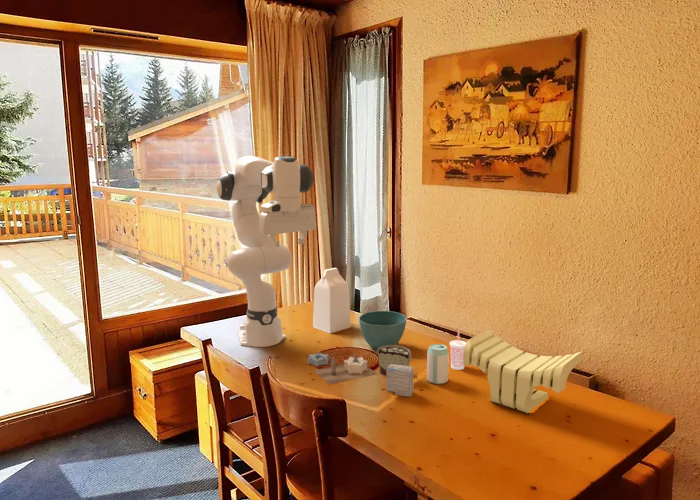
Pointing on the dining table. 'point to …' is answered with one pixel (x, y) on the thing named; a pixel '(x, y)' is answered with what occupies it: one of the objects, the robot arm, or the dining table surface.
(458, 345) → the beverage cup
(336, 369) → the gear board
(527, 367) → the slatted curved stool
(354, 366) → the cream gear
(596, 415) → the dining table surface
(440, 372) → the can
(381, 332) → the teal bowl
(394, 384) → the medicine box
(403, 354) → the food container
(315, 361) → the blue gear
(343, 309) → the milk
